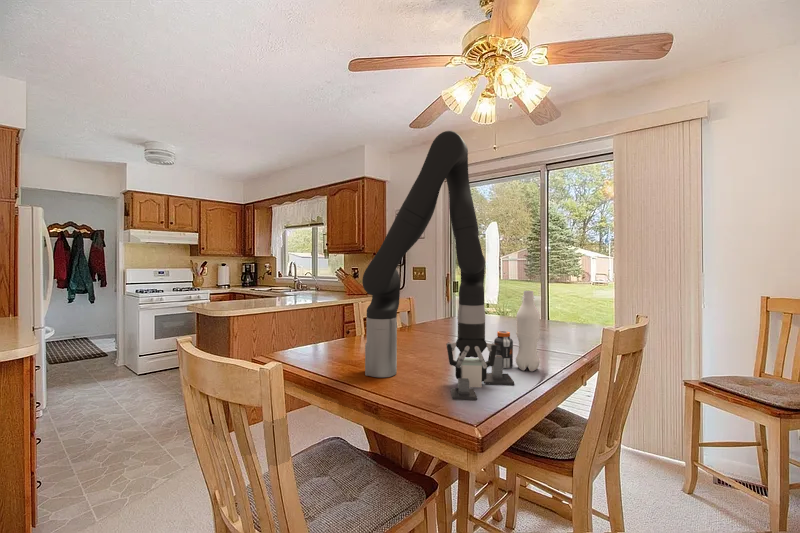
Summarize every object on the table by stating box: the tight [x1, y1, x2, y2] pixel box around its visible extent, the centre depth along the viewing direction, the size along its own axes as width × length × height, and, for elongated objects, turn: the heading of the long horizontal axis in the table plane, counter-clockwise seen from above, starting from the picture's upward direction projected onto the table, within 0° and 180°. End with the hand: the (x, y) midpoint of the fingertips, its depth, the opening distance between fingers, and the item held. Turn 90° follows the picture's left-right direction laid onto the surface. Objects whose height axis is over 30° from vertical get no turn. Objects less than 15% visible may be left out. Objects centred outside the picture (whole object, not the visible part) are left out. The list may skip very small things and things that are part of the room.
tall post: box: [483, 355, 515, 386], centre depth 108 cm, size 8×8×7 cm
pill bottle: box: [493, 330, 514, 369], centre depth 123 cm, size 6×6×11 cm
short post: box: [450, 378, 478, 401], centre depth 96 cm, size 6×6×4 cm
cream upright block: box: [460, 357, 483, 388], centre depth 105 cm, size 5×5×7 cm
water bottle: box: [515, 290, 541, 372], centre depth 120 cm, size 7×7×25 cm
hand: (470, 380), depth 105 cm, fingers open, 5 cm apart
